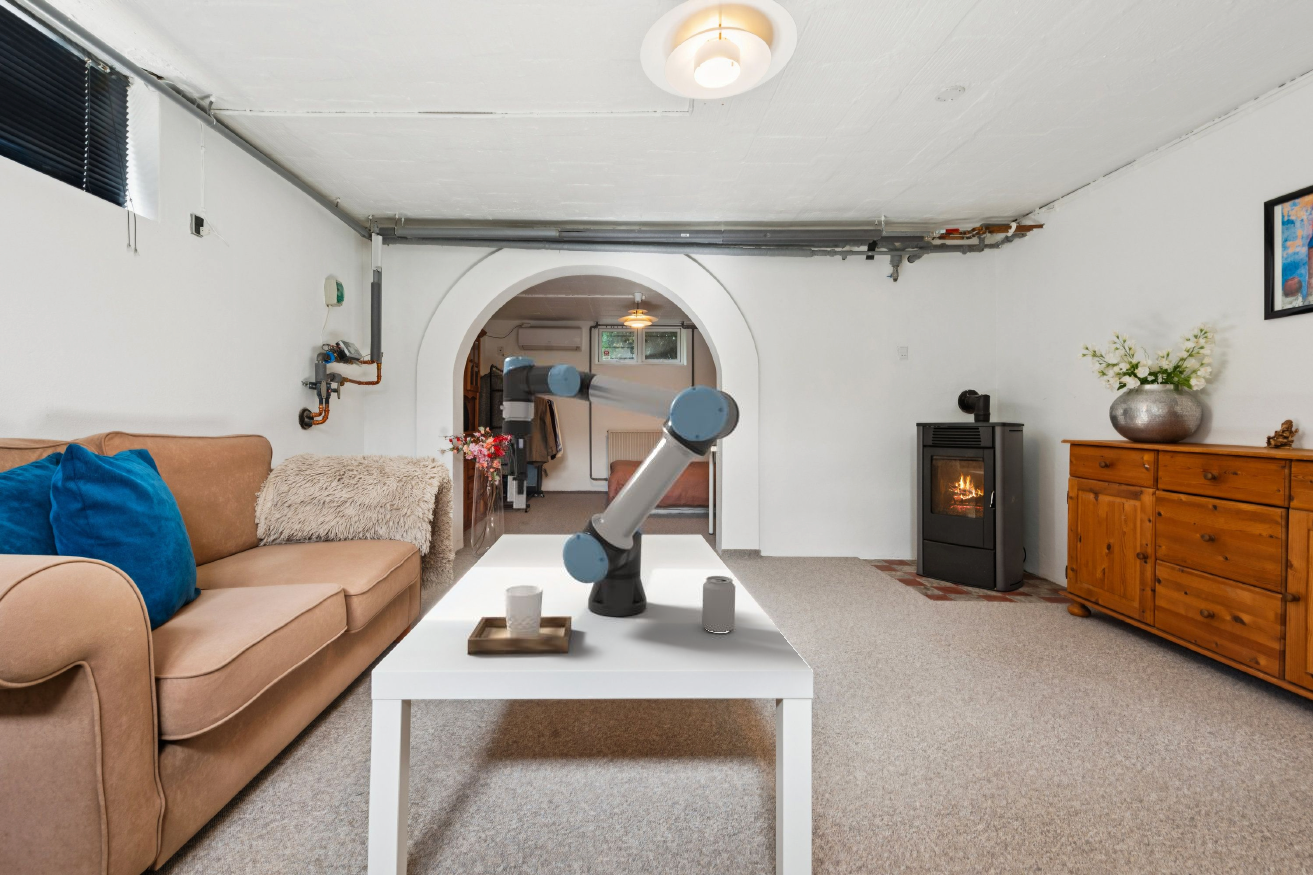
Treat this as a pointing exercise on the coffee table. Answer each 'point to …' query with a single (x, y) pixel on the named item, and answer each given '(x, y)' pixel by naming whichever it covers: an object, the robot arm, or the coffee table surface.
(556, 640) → the walnut tray
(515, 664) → the coffee table surface
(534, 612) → the white cup
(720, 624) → the can
